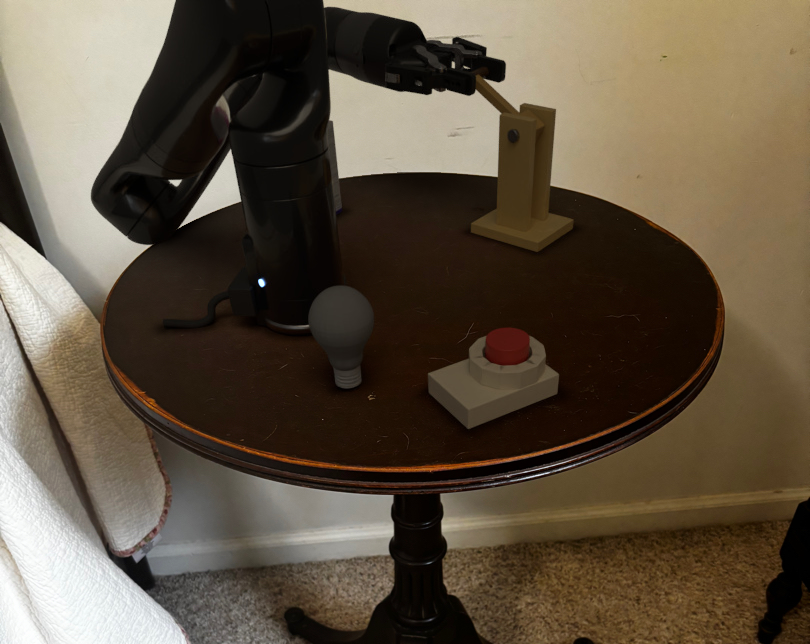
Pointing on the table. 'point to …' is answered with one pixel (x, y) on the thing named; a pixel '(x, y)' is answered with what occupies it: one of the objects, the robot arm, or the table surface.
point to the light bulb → (342, 330)
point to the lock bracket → (524, 184)
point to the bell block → (492, 385)
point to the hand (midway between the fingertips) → (488, 78)
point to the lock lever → (501, 99)
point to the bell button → (507, 346)
